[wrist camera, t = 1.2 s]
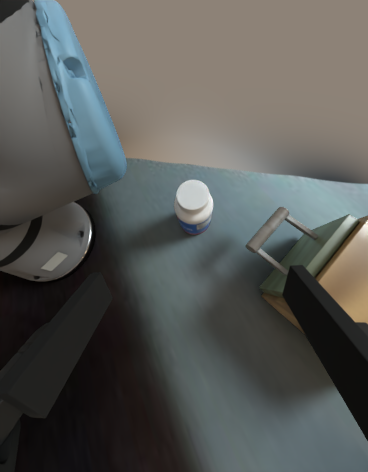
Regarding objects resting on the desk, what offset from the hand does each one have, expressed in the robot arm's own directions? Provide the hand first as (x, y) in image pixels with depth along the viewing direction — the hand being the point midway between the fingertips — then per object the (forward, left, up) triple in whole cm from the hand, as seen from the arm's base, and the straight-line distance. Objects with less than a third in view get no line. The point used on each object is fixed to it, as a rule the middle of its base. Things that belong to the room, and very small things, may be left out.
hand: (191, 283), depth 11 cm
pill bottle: (-7, +7, -15) cm, 18 cm away
